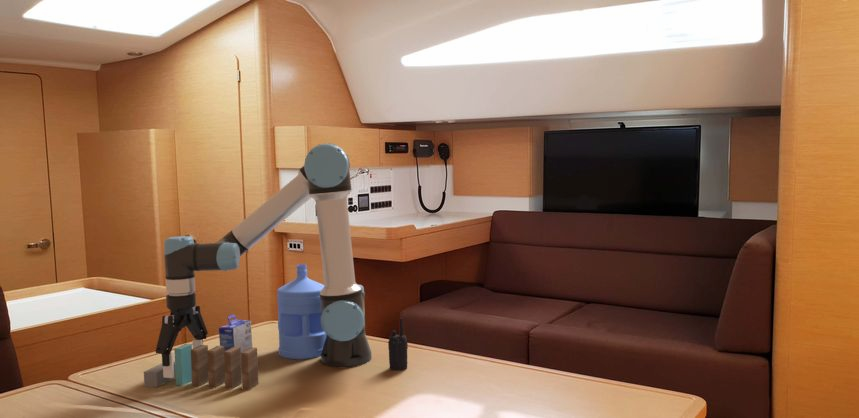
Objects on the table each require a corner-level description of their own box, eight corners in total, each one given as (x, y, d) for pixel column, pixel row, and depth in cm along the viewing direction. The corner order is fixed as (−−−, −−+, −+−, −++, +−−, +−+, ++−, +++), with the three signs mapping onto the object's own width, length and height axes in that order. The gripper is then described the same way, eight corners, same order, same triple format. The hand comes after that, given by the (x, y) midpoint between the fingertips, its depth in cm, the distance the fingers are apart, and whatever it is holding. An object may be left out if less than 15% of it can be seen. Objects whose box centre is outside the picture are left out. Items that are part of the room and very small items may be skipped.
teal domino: (193, 379, 184) (191, 344, 183) (182, 385, 179) (180, 349, 178) (186, 379, 184) (185, 344, 183) (175, 385, 179) (174, 348, 179)
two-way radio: (408, 368, 191) (407, 316, 190) (406, 372, 186) (405, 320, 185) (389, 367, 191) (388, 316, 190) (387, 372, 187) (386, 320, 186)
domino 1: (209, 380, 182) (207, 345, 182) (198, 386, 178) (197, 350, 177) (202, 380, 183) (201, 344, 182) (192, 386, 178) (190, 349, 177)
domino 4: (258, 384, 179) (257, 347, 178) (249, 390, 174) (247, 353, 173) (251, 383, 179) (250, 347, 179) (242, 389, 174) (240, 352, 174)
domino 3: (241, 382, 180) (240, 346, 179) (232, 389, 175) (230, 352, 175) (235, 382, 181) (233, 346, 180) (225, 388, 176) (223, 351, 175)
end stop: (179, 375, 188) (179, 361, 187) (157, 387, 178) (156, 372, 178) (167, 374, 188) (166, 361, 188) (144, 386, 179) (143, 371, 179)
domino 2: (225, 381, 181) (224, 346, 181) (215, 387, 176) (213, 351, 176) (218, 381, 182) (217, 345, 181) (208, 387, 177) (207, 350, 176)
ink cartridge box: (238, 357, 204) (236, 311, 203) (253, 359, 203) (252, 312, 202) (219, 367, 195) (217, 319, 194) (235, 368, 193) (234, 319, 192)
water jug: (276, 349, 213) (274, 263, 211) (325, 344, 217) (323, 260, 215) (281, 363, 198) (277, 270, 196) (333, 357, 202) (330, 267, 201)
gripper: (195, 284, 193) (198, 356, 194) (138, 302, 169) (142, 383, 170) (218, 285, 191) (221, 357, 192) (164, 303, 167) (167, 385, 168)
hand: (184, 369), depth 181 cm, fingers open, 13 cm apart
